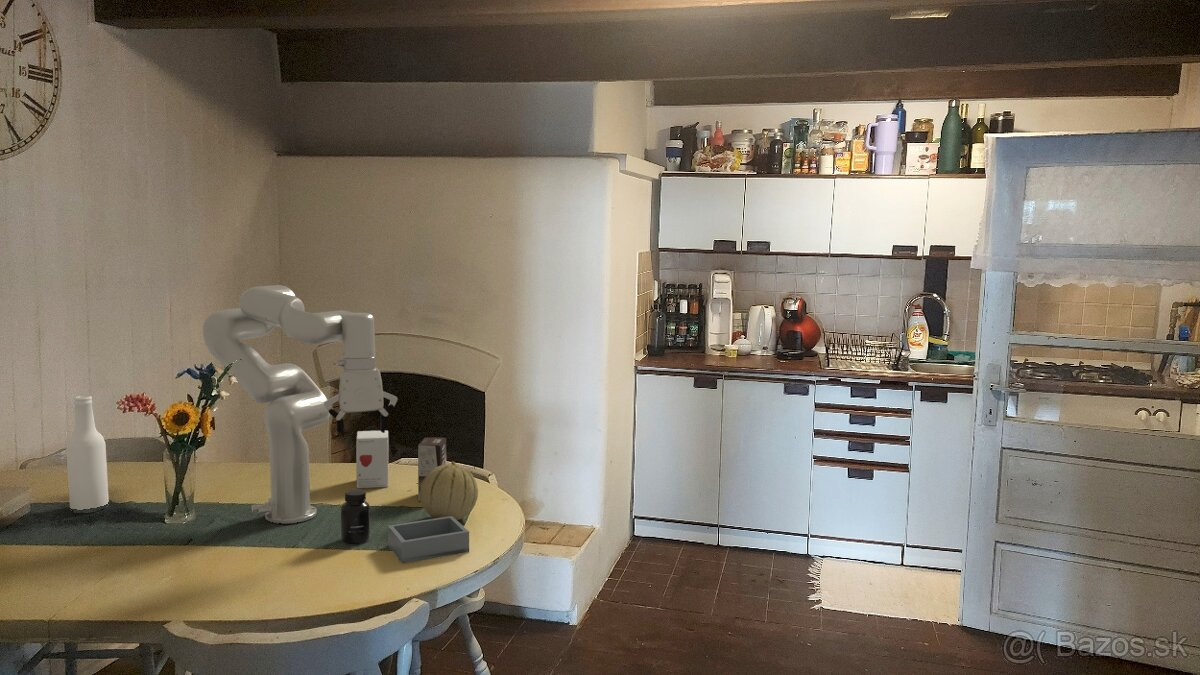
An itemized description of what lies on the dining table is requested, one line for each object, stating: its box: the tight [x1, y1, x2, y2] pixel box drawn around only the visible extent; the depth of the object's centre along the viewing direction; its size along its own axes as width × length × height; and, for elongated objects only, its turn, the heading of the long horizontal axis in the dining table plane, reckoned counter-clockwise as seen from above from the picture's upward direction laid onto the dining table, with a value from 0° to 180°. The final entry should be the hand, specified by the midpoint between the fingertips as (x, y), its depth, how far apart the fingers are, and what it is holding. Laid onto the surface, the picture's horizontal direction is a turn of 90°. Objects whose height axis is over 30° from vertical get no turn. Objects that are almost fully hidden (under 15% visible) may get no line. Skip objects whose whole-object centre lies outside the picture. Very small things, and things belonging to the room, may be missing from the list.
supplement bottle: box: [340, 489, 371, 546], centre depth 209 cm, size 7×7×12 cm
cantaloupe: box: [420, 460, 479, 521], centre depth 224 cm, size 15×15×15 cm
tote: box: [387, 516, 470, 564], centre depth 205 cm, size 16×12×5 cm
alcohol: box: [65, 394, 110, 510], centre depth 226 cm, size 9×9×30 cm
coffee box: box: [417, 437, 447, 502], centre depth 243 cm, size 9×6×16 cm
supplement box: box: [355, 430, 389, 489], centre depth 254 cm, size 9×9×15 cm
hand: (362, 433), depth 212 cm, fingers open, 9 cm apart
